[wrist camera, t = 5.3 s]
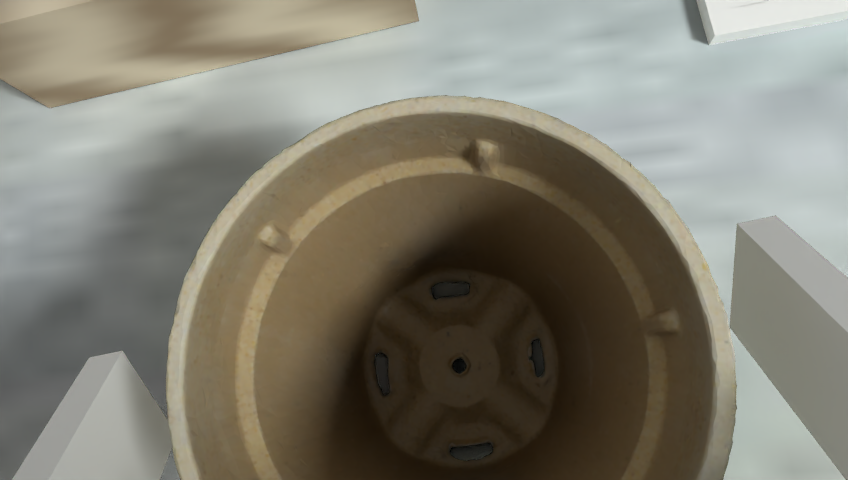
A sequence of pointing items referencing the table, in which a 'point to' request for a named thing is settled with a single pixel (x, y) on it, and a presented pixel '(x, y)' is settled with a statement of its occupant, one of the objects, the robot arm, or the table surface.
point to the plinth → (165, 38)
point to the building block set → (765, 16)
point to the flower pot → (449, 311)
